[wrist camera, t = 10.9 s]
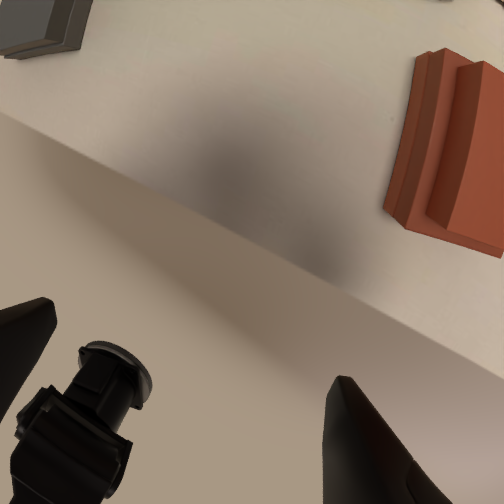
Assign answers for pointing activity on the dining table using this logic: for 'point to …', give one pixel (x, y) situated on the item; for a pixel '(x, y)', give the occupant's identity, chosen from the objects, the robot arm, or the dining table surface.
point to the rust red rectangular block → (473, 159)
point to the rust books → (427, 148)
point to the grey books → (41, 26)
